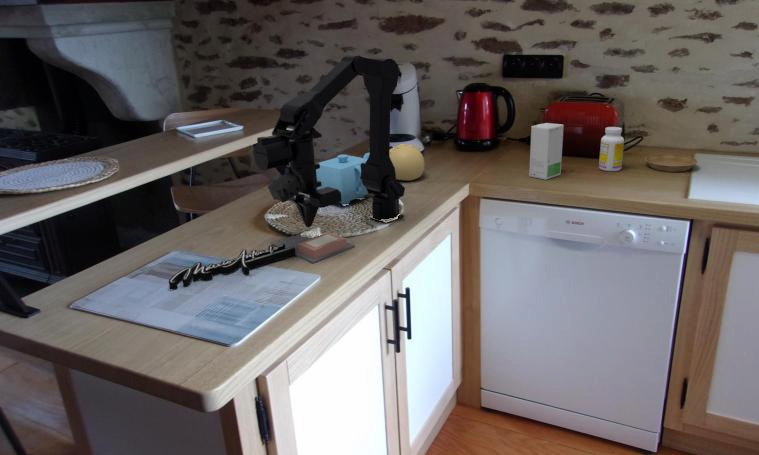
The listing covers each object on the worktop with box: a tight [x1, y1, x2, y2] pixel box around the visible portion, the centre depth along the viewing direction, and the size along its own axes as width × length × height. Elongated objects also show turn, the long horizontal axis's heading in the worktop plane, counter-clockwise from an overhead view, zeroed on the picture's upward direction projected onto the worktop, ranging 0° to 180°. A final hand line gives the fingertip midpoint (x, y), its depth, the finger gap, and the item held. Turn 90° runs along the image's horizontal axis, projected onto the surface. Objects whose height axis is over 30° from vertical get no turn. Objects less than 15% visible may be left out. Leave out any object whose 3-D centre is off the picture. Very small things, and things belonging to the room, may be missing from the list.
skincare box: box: [528, 122, 565, 181], centre depth 175 cm, size 8×7×16 cm
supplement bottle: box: [598, 126, 625, 172], centre depth 179 cm, size 7×7×13 cm
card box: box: [298, 231, 347, 259], centre depth 131 cm, size 9×2×6 cm
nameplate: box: [168, 244, 296, 290], centre depth 124 cm, size 28×2×10 cm
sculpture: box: [389, 143, 425, 181], centre depth 181 cm, size 12×12×11 cm
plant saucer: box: [644, 153, 698, 173], centre depth 180 cm, size 15×15×3 cm
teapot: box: [316, 152, 369, 205], centre depth 165 cm, size 18×16×13 cm
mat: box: [270, 235, 356, 264], centre depth 135 cm, size 12×16×1 cm
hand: (308, 226), depth 133 cm, fingers closed
